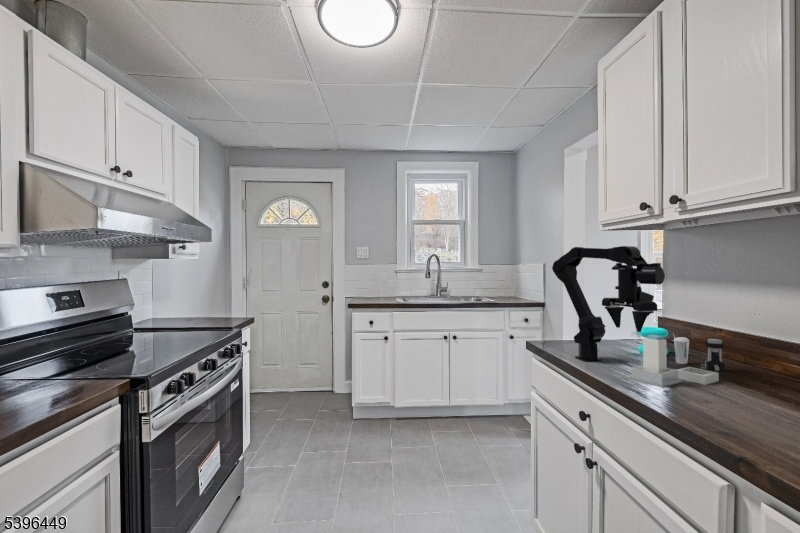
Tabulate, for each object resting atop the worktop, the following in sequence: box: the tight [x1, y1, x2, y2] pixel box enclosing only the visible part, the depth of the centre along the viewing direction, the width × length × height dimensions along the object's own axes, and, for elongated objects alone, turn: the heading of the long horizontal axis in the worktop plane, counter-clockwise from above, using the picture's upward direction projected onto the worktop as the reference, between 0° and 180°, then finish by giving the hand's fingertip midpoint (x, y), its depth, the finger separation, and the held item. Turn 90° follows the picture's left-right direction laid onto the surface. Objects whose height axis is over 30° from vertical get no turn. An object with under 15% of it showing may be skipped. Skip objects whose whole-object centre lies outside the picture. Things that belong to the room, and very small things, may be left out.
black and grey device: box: [699, 338, 726, 372], centre depth 132 cm, size 7×5×10 cm
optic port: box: [628, 364, 683, 388], centre depth 120 cm, size 10×10×4 cm
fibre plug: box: [642, 335, 668, 373], centre depth 120 cm, size 4×4×13 cm
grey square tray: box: [676, 366, 720, 386], centre depth 121 cm, size 8×8×2 cm
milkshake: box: [672, 333, 690, 365], centre depth 141 cm, size 5×5×10 cm
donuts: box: [637, 326, 669, 356], centre depth 155 cm, size 10×10×10 cm
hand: (628, 329), depth 135 cm, fingers open, 9 cm apart
